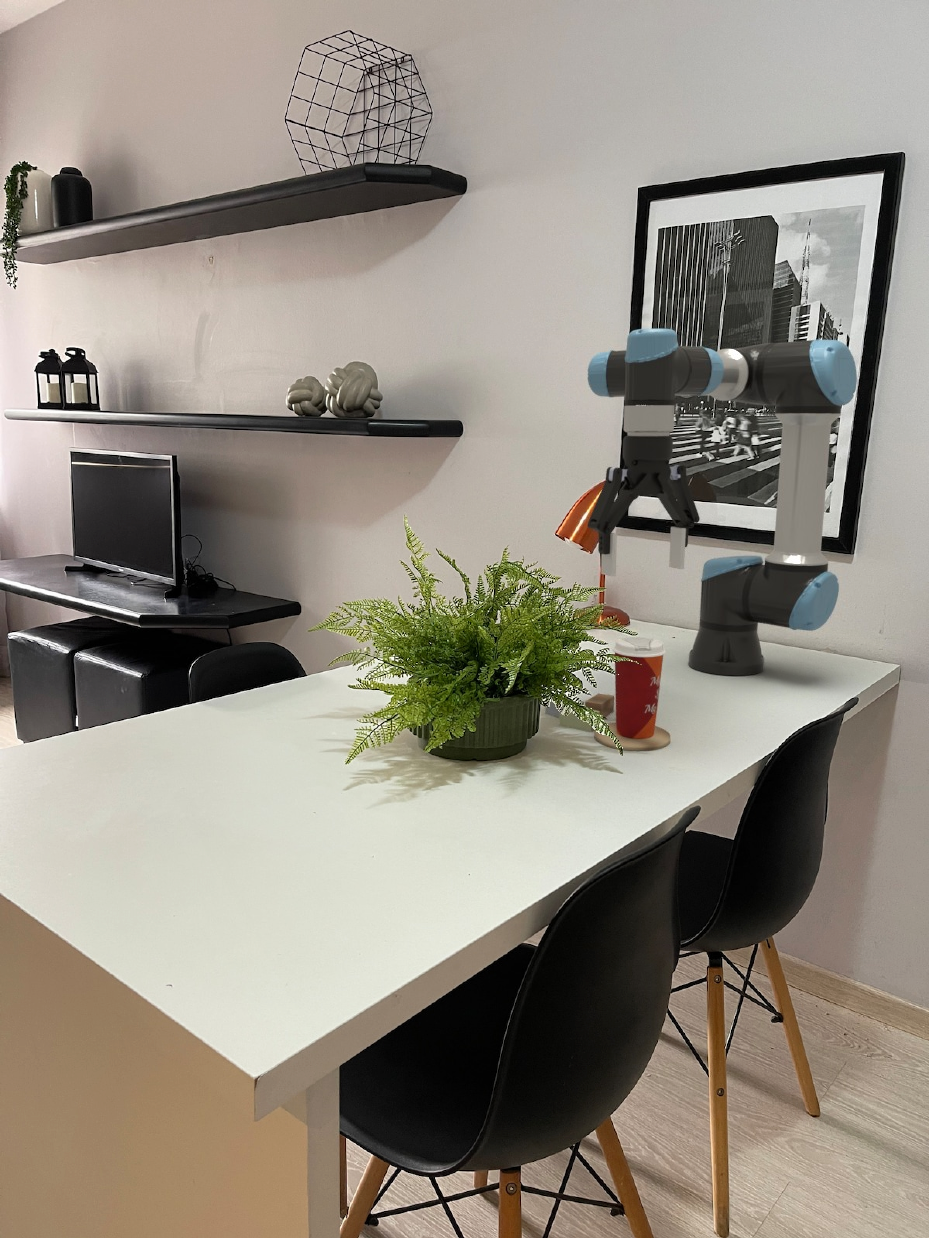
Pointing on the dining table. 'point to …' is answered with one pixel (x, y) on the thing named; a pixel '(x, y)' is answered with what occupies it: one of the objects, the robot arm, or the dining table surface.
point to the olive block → (575, 722)
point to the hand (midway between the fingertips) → (643, 571)
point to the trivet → (635, 740)
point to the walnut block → (601, 703)
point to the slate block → (554, 710)
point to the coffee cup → (637, 686)
